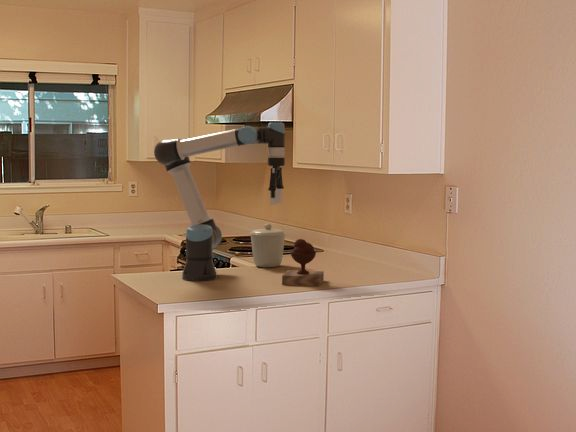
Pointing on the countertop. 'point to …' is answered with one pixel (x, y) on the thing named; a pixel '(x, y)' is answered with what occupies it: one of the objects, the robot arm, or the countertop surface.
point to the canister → (267, 246)
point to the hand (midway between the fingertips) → (276, 204)
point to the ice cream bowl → (303, 254)
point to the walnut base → (303, 278)
